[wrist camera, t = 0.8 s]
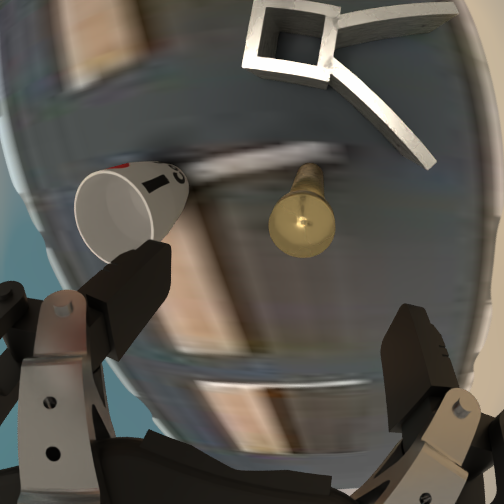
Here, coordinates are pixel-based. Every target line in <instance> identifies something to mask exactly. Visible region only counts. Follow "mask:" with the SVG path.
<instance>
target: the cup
mask: <svg viewBox="0 0 504 504" xmlns="http://www.w3.org/2000/svg"><path fill="white" fill-rule="evenodd" d="M188 194H189V184H188V180H187V178H186V176H185V174H184V173H183V172H182V171H181V170H180V169H179V168H178V167H176V166H174V165H172V164H168V163H163V162H159V161H145V162H131V163H126V164H122V165H119V166H115V167H111V168H108V169H104V170H101V171H97V172H94V173H92V174H90V175H89V176H87V177H86V178H85V179H84V180H83V181H82V183H81V184H80V186H79V188H78V190H77V193H76V197H75V204H74V211H75V219H76V223H77V227H78V229H79V232H80V234H81V236H82V238H83V240H84V242H85V243H86V245H87V246H88V247H89V249H90V250H91V251H92V252H93V253H94V254H95V255H96V256H97V257H99V258H100V259H101V260H103V261H104V262H106V263H108V264H109V263H111V261H112V260H114V259H115V258H116V257H117V256H118V255H120V254H122V253H124V252H127V251H129V250H132V249H135V250H136V249H137V248H138V247H140V246H141V245H142V244H143V243H144V242H146V241H147V240H149V239H152V240H155V241H159V242H161V240H162V239H163V238H164V237H165V236H166V235H167V234H168V233H169V231H170V230H171V228H172V227H173V225H174V224H175V222H176V221H177V219H178V218H179V216H180V215H181V213H182V211H183V209H184V206H185V203H186V200H187V198H188Z"/></svg>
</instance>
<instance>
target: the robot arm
mask: <svg viewBox="0 0 504 504" xmlns="http://www.w3.org/2000/svg"><path fill="white" fill-rule="evenodd" d="M170 286H171V246H170V245H169V244H167V243H163V242H159V241H155V240H152V239H149V240H147V241H146V242H144V243H143V244H142V245H141V246H140V247H138V248H137V249H136V250H135V249H132V250H129V251H127V252H124V253H122V254H120V255H118V256H117V257H116V258H115V259H114V260H112V261H111V263H109V264H108V265H106V266H105V267H104V268H103V270H101V271H99V272H98V273H97V274H96V275H95V276H94V277H92V278H91V279H90V280H89V281H88V282H87V283H85V284H84V285H83V286H82V287H81V288H80V289H79V290H78V291H74V290H61V291H57V292H54V293H52V294H51V295H49V296H47V297H46V298H45V299H44V301H43V300H37V299H31V298H27V297H26V294H25V290H24V287H23V285H22V284H21V283H19V282H16V281H7V282H3V283H1V284H0V339H1V338H2V337H3V339H4V341H5V343H6V345H7V347H8V348H7V349H6V350H5V351H4V352H3V353H2V355H0V425H1V424H2V422H3V421H4V420H5V418H6V417H7V415H8V414H9V412H10V411H11V409H12V408H13V407H14V405H15V404H16V402H17V401H18V457H19V466H15V467H11V468H7V469H2V470H0V504H485V491H484V479H483V473H484V472H485V471H486V470H488V469H489V468H491V467H492V466H493V465H494V468H495V477H496V486H497V493H496V496H495V498H494V500H493V501H492V502H491V503H490V504H504V410H503V411H502V412H501V413H500V414H499V415H498V416H497V417H496V418H494V417H492V416H489V415H486V414H484V413H481V409H480V406H479V403H478V402H477V400H476V398H475V397H474V396H473V395H472V394H471V393H470V392H468V391H466V390H464V389H461V388H459V385H458V382H457V378H456V375H455V372H454V369H453V366H452V363H451V360H450V358H448V356H449V355H448V352H447V349H446V348H445V344H444V341H443V338H442V336H441V334H440V333H439V332H438V330H437V329H436V328H435V327H434V325H433V324H431V323H430V321H429V318H428V315H427V313H426V310H425V309H424V308H423V307H419V306H414V305H410V304H406V303H404V304H403V305H402V306H401V307H400V308H399V310H398V312H397V314H396V316H395V318H394V320H393V322H392V324H391V325H390V327H389V329H388V331H387V333H386V335H385V336H384V339H383V341H382V345H381V361H382V368H383V376H384V384H385V393H386V403H387V414H388V426H389V432H396V433H402V439H401V440H400V441H399V442H398V443H397V444H396V445H395V447H394V448H393V449H392V451H391V452H390V453H389V455H388V456H387V457H386V459H385V460H384V461H383V462H382V464H381V465H380V466H379V467H378V469H377V470H376V471H375V472H374V473H373V475H372V476H371V477H370V478H369V479H368V480H367V481H366V482H365V483H364V484H363V485H362V486H361V487H360V488H359V489H358V490H356V491H355V492H354V493H353V494H352V495H351V496H348V495H347V494H345V493H343V492H341V491H339V490H337V489H335V488H332V487H331V480H332V476H327V475H318V474H310V473H303V472H297V471H291V470H275V471H241V470H236V469H233V468H231V467H229V466H227V465H225V464H223V463H221V462H219V461H218V460H216V459H214V458H212V457H210V456H209V455H207V454H205V453H204V452H202V451H200V450H198V449H197V448H195V447H193V446H192V445H189V444H186V443H183V442H180V441H178V440H175V439H172V438H170V437H167V436H164V435H162V434H159V433H157V432H154V431H152V430H150V429H149V430H148V431H147V433H146V435H145V437H144V439H142V438H134V437H116V435H115V431H114V428H113V425H112V422H111V419H110V414H109V409H108V403H107V396H106V389H105V382H104V374H103V366H102V361H103V360H104V359H105V358H106V356H107V357H109V358H111V359H114V360H116V361H118V362H119V360H120V359H121V358H122V356H123V355H124V354H125V352H126V351H127V350H128V348H129V347H130V346H131V344H132V343H133V341H134V340H135V339H136V337H137V336H138V335H139V333H140V332H141V331H142V329H143V328H144V327H145V325H146V324H147V323H148V322H149V320H150V319H151V318H152V316H153V315H154V314H155V312H156V311H157V310H158V308H159V307H160V306H161V304H162V303H163V302H164V301H165V299H166V298H167V296H168V293H169V290H170ZM18 399H19V400H18Z"/></svg>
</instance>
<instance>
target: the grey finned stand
mask: <svg viewBox="0 0 504 504" xmlns="http://www.w3.org/2000/svg"><path fill="white" fill-rule="evenodd" d="M340 10H341V7H338V6H333V5H328V4H323V3H317V2H311V1H304V0H254V2H253V7H252V13H251V18H250V23H249V29H248V34H247V40H246V45H245V51H244V57H243V63H242V68H244V69H245V70H247V71H249V72H251V73H253V74H254V75H256V76H258V77H260V78H262V79H269V80H275V81H282V82H288V83H293V84H299V85H304V86H309V87H314V88H319V89H323V90H326V89H327V86H328V84H329V85H330V86H331V87H332V88H333V89H335V90H336V91H337V92H338V93H339V94H340V95H342V96H343V97H344V98H345V99H346V100H347V101H348V102H349V103H350V104H352V105H353V106H354V107H355V108H356V109H357V110H358V111H359V112H360V113H361V114H362V115H363V116H364V117H365V118H366V119H368V120H369V121H370V122H371V123H372V124H373V125H374V126H375V127H376V128H377V129H378V130H379V131H380V132H381V133H382V134H383V136H384V137H385V138H386V139H387V140H388V141H389V142H390V143H391V144H392V145H393V146H394V147H395V148H396V149H397V150H398V151H399V153H400V154H401V155H402V156H404V157H405V158H407V159H409V160H411V161H412V162H414V163H416V164H418V165H419V166H421V167H423V168H424V169H426V170H429V169H430V168H431V167H432V166H433V165H434V164H435V163H436V162H437V161H436V160H435V158H434V157H433V156H432V155H431V153H430V152H429V151H428V150H427V148H426V147H425V146H424V145H423V144H422V143H421V141H420V140H419V139H418V138H417V137H416V136H415V135H414V133H413V132H412V131H411V130H410V129H409V128H408V127H407V126H406V125H405V123H404V122H403V121H402V120H401V119H400V118H399V117H398V116H397V115H396V114H395V113H394V112H393V111H392V110H391V109H390V108H389V107H388V106H387V105H386V104H385V103H384V102H383V101H382V100H381V99H380V98H379V97H378V96H377V95H376V94H375V93H374V92H373V91H372V90H371V89H370V88H369V87H367V86H366V85H365V84H364V83H363V82H362V81H361V80H360V79H359V78H358V77H356V76H355V75H354V74H353V73H352V72H351V71H349V70H348V69H347V68H346V67H345V66H344V65H342V64H341V63H340V62H339V61H337V60H336V59H335V58H334V57H333V55H334V49H338V48H342V47H347V46H351V45H356V44H360V43H365V42H370V41H375V40H381V39H386V38H393V37H399V36H406V35H414V34H423V33H430V32H431V31H433V30H434V29H436V28H438V27H439V26H441V25H442V24H444V23H445V22H447V21H448V20H450V19H451V18H453V17H455V16H456V15H458V14H459V12H458V10H457V8H456V6H455V4H454V2H431V3H415V4H404V5H394V6H386V7H379V8H373V9H367V10H361V11H356V12H350V13H346V14H341V15H340ZM279 32H287V33H294V34H300V35H306V36H312V37H317V38H322V42H321V48H320V53H319V59H318V65H317V66H314V65H309V64H303V63H298V62H292V61H285V60H279V59H275V55H276V49H277V43H278V37H279Z"/></svg>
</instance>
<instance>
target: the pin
mask: <svg viewBox="0 0 504 504" xmlns="http://www.w3.org/2000/svg"><path fill="white" fill-rule="evenodd" d="M269 233H270V236H271V238H272V240H273V242H274V243H275V245H276V246H277V247H278V248H279V249H280V250H282V251H283V252H284V253H286V254H288V255H290V256H294V257H299V258H307V257H312V256H315V255H318V254H320V253H321V252H323V251H324V250H325V249H326V248H327V247H328V246H329V245H330V243H331V242H332V240H333V237H334V234H335V219H334V213H333V210H332V208H331V206H330V205H329V203H328V202H327V201H326V200H325V199H324V180H323V172H322V170H321V168H320V167H319V166H318V165H316V164H314V163H306V164H303V165H302V166H301V167H300V168H299V170H298V172H297V175H296V177H295V180H294V183H293V185H292V188H291V191H290V193H288V194H286V195H284V196H283V197H282V198H281V199H280V200H279V201H278V202H277V203H276V205H275V207H274V209H273V211H272V213H271V215H270V219H269Z"/></svg>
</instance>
